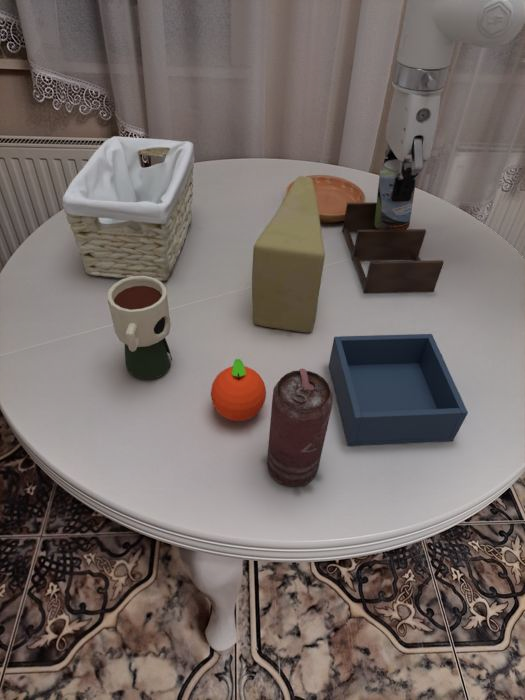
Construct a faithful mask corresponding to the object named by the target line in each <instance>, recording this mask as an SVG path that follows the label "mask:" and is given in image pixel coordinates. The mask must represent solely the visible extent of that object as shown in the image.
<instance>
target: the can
mask: <svg viewBox="0 0 525 700" xmlns="http://www.w3.org/2000/svg"><path fill="white" fill-rule="evenodd" d="M271 400H272V401H271V409H270V410H271V411H270V422H269V423H270V425H269V434H268V447H267V457H266V458H267V459H266V466H267V469H268V472H269V473H270V474H271V476H272V477H273V478H274V479H275V480H276V481H277V482H279V483H281V484H283V485H285V486H291V487H297V486H304V485H305V484H307V483H309V482H311V481H312V480H313V479H314V478H315V477H316V475H317V474H318V472H319V466H320V462H321V457H322V453H323V449H324V444H325V441H326V440H325V439H326V435H327V431H328V427H329V421H330V418H331V413H332V408H333V404H334V395H333V392H332V389H331V388H330V385H329V383H328V381H327V380H326V379H325V378H324V377H323V376H321V375H319V373H316V372H314V371H311V370H307V369H305V368H299V370H293V371H290V372H287V373H285V374H284V375H283V376H282V377H280V379H279V381H277V382H276V384H275V385H274V387H273V390H272V398H271Z"/></svg>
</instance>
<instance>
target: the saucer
mask: <svg viewBox="0 0 525 700" xmlns="http://www.w3.org/2000/svg"><path fill="white" fill-rule="evenodd" d="M304 177H310V178H312V180H313V184H314V189H315V194H316V198H317V203H318V210H319V218H320V223H328V224H329V223H339V222H344V217H345V211H346V206H347V203H366V195H365V192H364V191H363V189H362V188H361V187H360V186H358V185H357V184H356V183H354V182H352V181H350V180H348V179H345V178H342V177H339V176H334V175H328V174H312V175H306V176H304ZM294 182H295V180H293V181H292V182H290V183H289V184H288V185H287V187H286V189H285V197H286V196H287V194H288V192H289V190H290V188H291V187H292V185H293V183H294Z"/></svg>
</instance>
